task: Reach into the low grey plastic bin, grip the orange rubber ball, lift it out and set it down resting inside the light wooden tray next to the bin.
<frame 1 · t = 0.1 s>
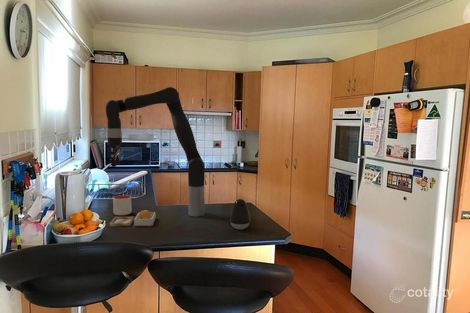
hand: (115, 165, 184), 29 cm above the countertop, tool pointing down, fingers open, 8 cm apart
black tapered speaker: (240, 228, 169), on the countertop
bin: (145, 222, 178), on the countertop
ball: (145, 215, 177), point 3 cm above the countertop, touching bin
cup: (122, 214, 194), on the countertop
tray: (122, 222, 176), on the countertop
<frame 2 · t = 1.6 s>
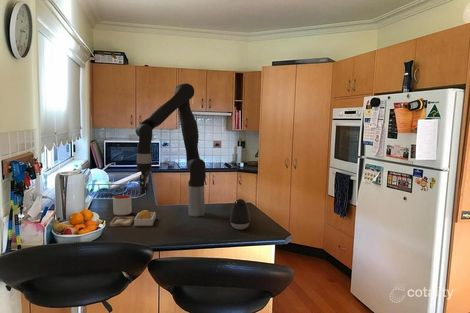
hand: (144, 192, 176), 16 cm above the countertop, tool pointing down, fingers open, 8 cm apart
nothing on the countertop moved.
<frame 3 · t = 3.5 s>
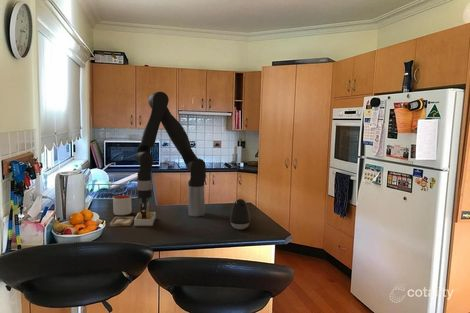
hand: (145, 219, 178), 2 cm above the countertop, tool pointing down, fingers closed on ball, 6 cm apart
ball: (145, 215, 177), point 3 cm above the countertop, touching bin, gripper
everything else where it was.
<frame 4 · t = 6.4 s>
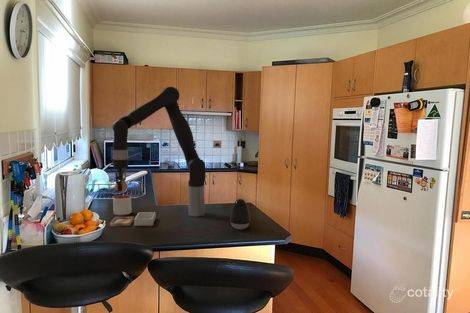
hand: (121, 189, 174), 18 cm above the countertop, tool pointing down, fingers closed on ball, 6 cm apart
ball: (121, 186, 174), point 20 cm above the countertop, touching gripper
everything else where it was.
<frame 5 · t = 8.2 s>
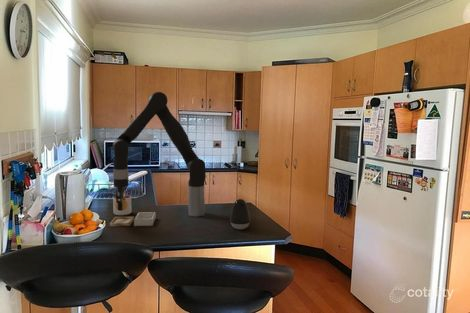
hand: (121, 208, 176), 8 cm above the countertop, tool pointing down, fingers closed on ball, 6 cm apart
ball: (121, 205, 175), point 10 cm above the countertop, touching gripper
everything else where it was.
when the fingers open (3 cm above the countertop, at t = 9.7 s): ball drops 1 cm, resting on tray.
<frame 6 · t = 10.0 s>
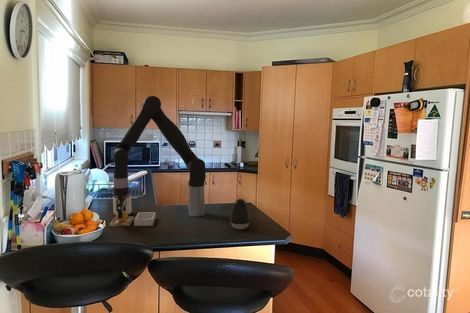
hand: (122, 216, 176), 4 cm above the countertop, tool pointing down, fingers open, 8 cm apart
ball: (122, 216, 176), point 3 cm above the countertop, touching tray
everything else where it was.
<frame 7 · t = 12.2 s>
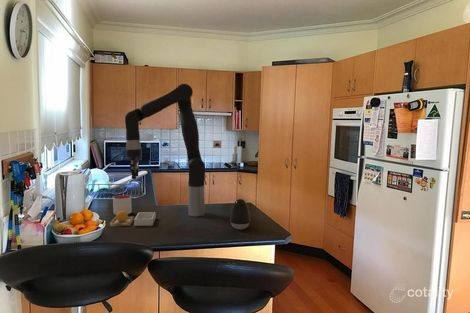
hand: (135, 177, 181), 23 cm above the countertop, tool pointing down, fingers open, 8 cm apart
nothing on the countertop moved.
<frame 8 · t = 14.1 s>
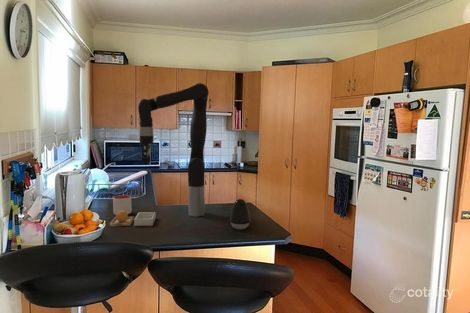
hand: (146, 163, 189), 30 cm above the countertop, tool pointing down, fingers open, 8 cm apart
nothing on the countertop moved.
at the end: ball inside the target area on the tray (0.0 cm from its centre), point 3.5 cm above the tray's base; the gripper is holding nothing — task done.
